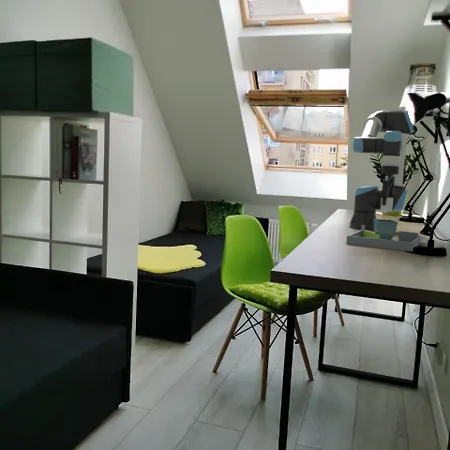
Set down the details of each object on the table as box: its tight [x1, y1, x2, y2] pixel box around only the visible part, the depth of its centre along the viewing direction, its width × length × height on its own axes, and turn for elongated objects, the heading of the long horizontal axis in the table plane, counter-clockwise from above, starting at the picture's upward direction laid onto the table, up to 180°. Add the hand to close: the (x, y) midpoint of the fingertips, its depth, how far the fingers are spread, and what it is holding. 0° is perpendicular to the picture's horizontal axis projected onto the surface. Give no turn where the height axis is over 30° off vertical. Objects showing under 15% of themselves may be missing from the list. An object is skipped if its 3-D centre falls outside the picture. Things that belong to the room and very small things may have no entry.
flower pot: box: [373, 218, 399, 240], centre depth 220 cm, size 9×9×9 cm
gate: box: [363, 229, 380, 239], centre depth 214 cm, size 2×12×5 cm, turn 11°
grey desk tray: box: [346, 225, 422, 252], centre depth 206 cm, size 24×26×6 cm
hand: (386, 212), depth 219 cm, fingers open, 13 cm apart
